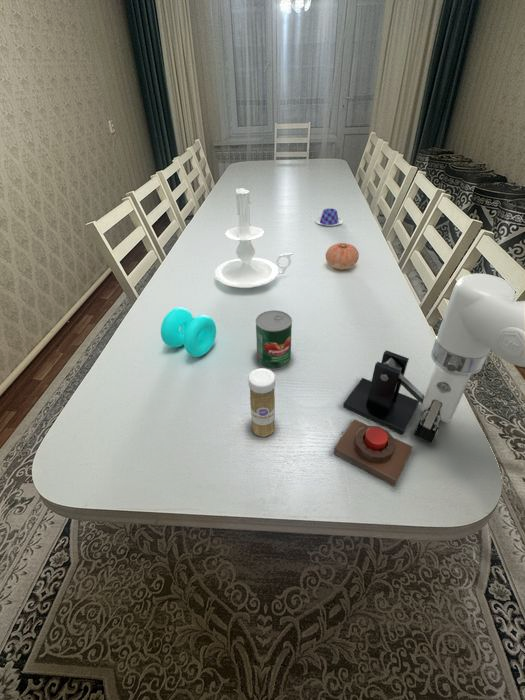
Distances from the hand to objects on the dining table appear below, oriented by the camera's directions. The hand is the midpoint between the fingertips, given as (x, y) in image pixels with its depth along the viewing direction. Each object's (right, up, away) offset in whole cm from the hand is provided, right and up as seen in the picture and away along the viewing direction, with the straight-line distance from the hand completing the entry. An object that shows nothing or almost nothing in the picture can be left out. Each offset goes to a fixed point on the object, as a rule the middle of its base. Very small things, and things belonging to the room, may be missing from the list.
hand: (428, 426), depth 67 cm
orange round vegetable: (-5, +42, +54) cm, 69 cm away
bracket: (-8, +3, +5) cm, 9 cm away
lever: (-5, +7, -1) cm, 8 cm away
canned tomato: (-29, +12, +17) cm, 35 cm away
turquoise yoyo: (-49, +15, +21) cm, 55 cm away
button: (-12, -1, -6) cm, 13 cm away
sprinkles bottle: (-31, -1, +1) cm, 31 cm away
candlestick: (-34, +37, +48) cm, 70 cm away
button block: (-12, -4, -4) cm, 13 cm away
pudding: (-2, +70, +89) cm, 113 cm away
